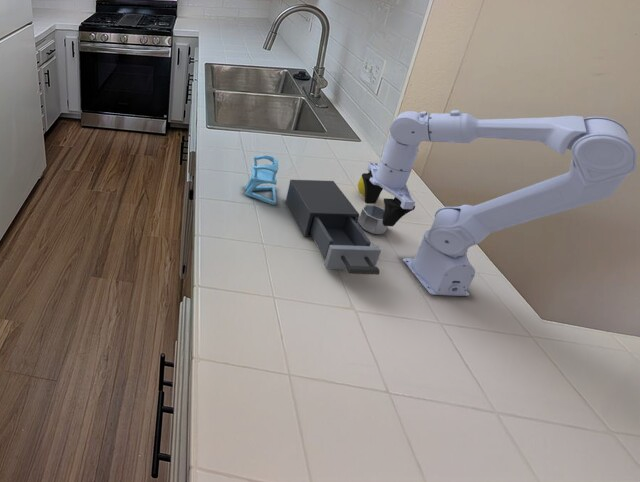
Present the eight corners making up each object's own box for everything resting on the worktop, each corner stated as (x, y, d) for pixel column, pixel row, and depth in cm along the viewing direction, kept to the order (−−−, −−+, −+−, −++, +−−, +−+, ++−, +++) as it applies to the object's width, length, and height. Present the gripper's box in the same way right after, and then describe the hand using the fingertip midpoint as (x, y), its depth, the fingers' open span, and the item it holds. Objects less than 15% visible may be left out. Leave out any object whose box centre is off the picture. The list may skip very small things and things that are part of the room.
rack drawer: (385, 286, 80) (393, 266, 78) (335, 285, 81) (341, 264, 78) (346, 230, 96) (351, 211, 93) (304, 229, 96) (308, 210, 94)
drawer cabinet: (352, 239, 94) (359, 214, 91) (304, 237, 95) (310, 212, 92) (327, 203, 107) (333, 180, 104) (285, 202, 107) (290, 179, 104)
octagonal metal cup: (390, 235, 96) (395, 220, 94) (366, 234, 96) (371, 219, 94) (376, 219, 101) (381, 205, 99) (354, 218, 101) (358, 204, 99)
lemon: (380, 205, 106) (388, 181, 103) (358, 202, 107) (365, 178, 104) (372, 193, 111) (380, 169, 108) (352, 190, 112) (358, 167, 109)
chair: (245, 184, 115) (250, 149, 110) (274, 189, 113) (281, 153, 108) (244, 199, 108) (250, 163, 103) (276, 205, 106) (283, 168, 101)
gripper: (360, 146, 90) (346, 193, 96) (397, 183, 77) (378, 235, 82) (391, 147, 90) (374, 194, 95) (433, 184, 77) (411, 237, 82)
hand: (378, 213), depth 89 cm, fingers open, 7 cm apart
